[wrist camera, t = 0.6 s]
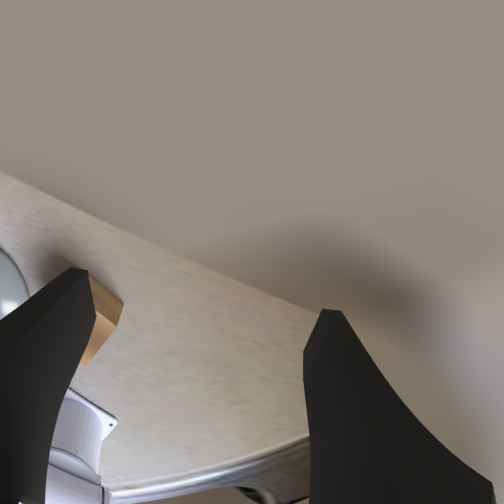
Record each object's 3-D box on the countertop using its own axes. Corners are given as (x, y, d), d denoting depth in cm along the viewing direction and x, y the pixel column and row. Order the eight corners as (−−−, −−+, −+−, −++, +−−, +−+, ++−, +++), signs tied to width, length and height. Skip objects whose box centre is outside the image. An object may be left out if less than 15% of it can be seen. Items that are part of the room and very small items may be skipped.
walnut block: (97, 338, 29) (86, 366, 23) (59, 307, 27) (40, 330, 22) (124, 303, 29) (116, 326, 24) (84, 270, 28) (68, 287, 22)
